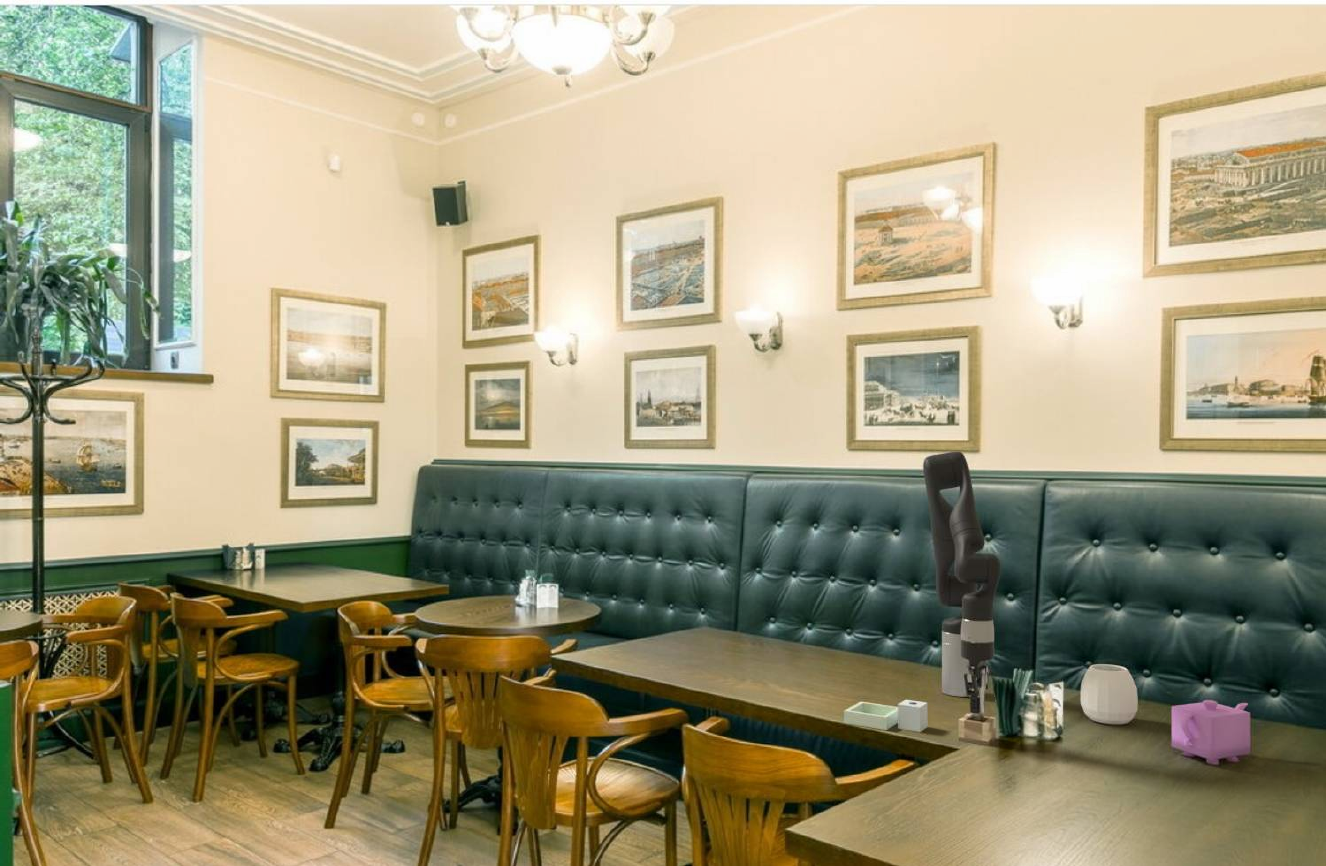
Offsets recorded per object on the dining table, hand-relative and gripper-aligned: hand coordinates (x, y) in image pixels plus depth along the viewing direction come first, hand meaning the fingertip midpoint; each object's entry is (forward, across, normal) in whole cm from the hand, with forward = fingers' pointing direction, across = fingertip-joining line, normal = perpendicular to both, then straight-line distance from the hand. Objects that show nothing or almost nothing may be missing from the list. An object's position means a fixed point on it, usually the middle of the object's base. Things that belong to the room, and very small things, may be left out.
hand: (977, 711), depth 235 cm
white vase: (+7, -35, +23) cm, 42 cm away
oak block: (+7, 0, 0) cm, 7 cm away
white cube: (+7, -1, -16) cm, 17 cm away
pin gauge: (+4, 0, 0) cm, 4 cm away
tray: (+7, 0, -26) cm, 27 cm away
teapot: (+7, -17, +48) cm, 51 cm away
